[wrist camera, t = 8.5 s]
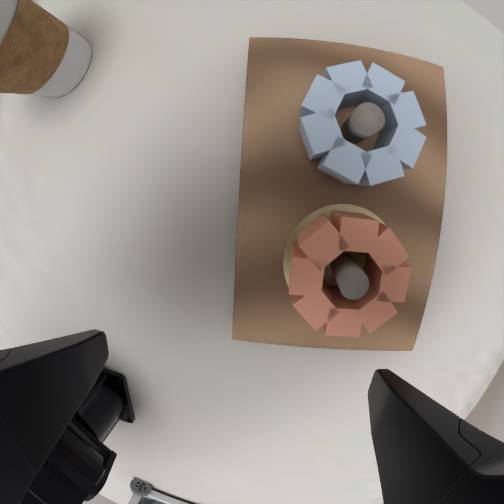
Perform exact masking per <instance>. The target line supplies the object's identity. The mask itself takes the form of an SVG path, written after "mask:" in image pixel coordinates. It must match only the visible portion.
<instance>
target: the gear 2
mask: <svg viewBox="0 0 504 504" xmlns="http://www.w3.org/2000/svg"><path fill="white" fill-rule="evenodd" d="M297 235H298V243H293V244H292V255H291V266H290V279H289V294H290V295H293V298H292V305H293V307H294V308H295V309H296V310H297V311H298V312H299V313H300V314H301V316H302V317H303V318H304V319H305V320H306V321H307V322H308V323H309V325H310V326H311V327H312V328H313V329H314V330H317V329H318V328H320V327H321V326H322V325H323V327H324V333H325V335H327V336H344V337H359V336H360V331H361V327H362V324H363V326H364V327H365V328H366V329H367V331H368V332H369V333H372V332H373V331H374V330H376V329H377V328H378V327H380V326H381V325H382V324H384V323H385V322H386V321H388V320H389V319H390V318H391V317H393V316H394V315H395V314H396V313H398V311H397V310H396V309H395V307H394V306H393V304H392V303H391V302H404V301H405V297H406V293H407V288H408V283H409V278H410V273H411V267H410V266H409V265H407V264H406V263H405V262H404V261H405V260H406V259H407V258H408V257H409V255H408V253H407V252H406V250H405V249H404V247H403V246H402V244H401V243H400V241H399V240H398V239H397V237H396V236H395V234H394V233H393V231H392V230H391V228H390V227H388V226H386V225H384V224H382V223H380V222H379V221H378V220H376V219H374V218H372V217H370V216H367V215H365V214H363V213H355V212H345V211H336V210H332V215H331V222H330V221H329V220H328V219H327V218H326V217H325V216H324V215H323V214H321V215H319V216H318V217H317V218H316V219H315V220H313V221H312V222H311V223H310V224H309V225H307V226H306V227H305V228H304V229H303V230H301V231H300V232H299V233H298V234H297ZM344 251H353V252H364V253H365V254H366V262H365V269H364V273H365V274H366V275H367V277H368V279H369V288H368V291H367V292H366V294H365V295H364V296H363V297H361V298H359V299H355V300H351V299H348V298H346V297H344V296H343V295H342V293H341V291H340V289H339V286H329V285H328V284H327V283H326V282H325V280H324V279H323V276H324V269H325V266H326V265H328V264H329V263H330V262H331V261H333V260H334V259H335V258H336V257H338V256H339V255H340V254H341V253H342V252H344Z"/></svg>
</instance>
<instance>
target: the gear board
mask: <svg viewBox="0 0 504 504" xmlns="http://www.w3.org/2000/svg"><path fill="white" fill-rule="evenodd" d="M359 60H361V62H362V64H363V66H364V68H365V70H366V71H367V70H368V68H369V67H370V65H371V64H372V62H373V63H375V64H377V65H378V66H380V67H382V68H384V69H385V70H387V71H389V72H391V73H392V74H394V75H396V76H397V77H399V78H401V79H402V80H404V81H405V83H404V86H403V88H402V91H401V93H404V92H409V91H414V94H415V96H416V99H417V101H418V104H419V106H420V109H421V112H422V114H423V117H424V120H425V123H426V126H424V127H421V128H419V129H416V130H417V131H419V132H420V133H421V134H423V135H424V136H426V139H425V142H424V144H423V147H422V149H421V151H420V154H419V156H418V158H417V161H416V163H415V165H414V167H413V169H403V172H404V175H405V176H403V177H399V178H396V179H392V180H389V181H385V182H382V183H378V184H375V185H372V186H364V185H355V184H345V183H343V182H341V181H339V180H337V179H336V178H334V177H332V176H330V175H328V174H326V173H324V172H323V171H321V170H319V169H317V167H318V165H319V163H320V161H321V159H322V157H319V158H316V159H313V160H309V157H308V154H307V151H306V148H305V146H304V143H303V140H302V137H301V135H300V132H299V125H300V120H299V119H300V110H301V104H302V102H303V101H304V99H305V97H306V95H307V93H308V91H309V89H310V87H311V85H312V83H313V81H314V79H315V77H316V76H317V74H318V75H320V76H322V77H324V73H325V70H326V67H331V66H335V65H339V64H344V63H349V62H354V61H359ZM335 117H336V120H337V122H338V125H339V128H340V130H341V133H342V136H343V139H345V140H346V141H348V142H350V143H352V144H354V145H355V146H357V147H359V148H361V149H362V150H364V151H366V152H368V151H371V150H372V149H373V147H374V145H375V143H376V141H377V139H378V136H379V133H378V131H380V130H381V129H382V128H383V126H384V124H385V116H384V113H383V111H382V110H381V108H380V107H379V106H377V105H376V104H374V103H370V102H365V103H362V104H360V105H359V106H358V107H355V106H351V107H347V108H343V109H339V110H337V111H336V113H335ZM446 164H447V111H446V93H445V81H444V71H443V67H442V66H439V65H435V64H432V63H429V62H426V61H422V60H419V59H415V58H412V57H408V56H404V55H400V54H396V53H392V52H387V51H382V50H378V49H373V48H367V47H362V46H356V45H350V44H343V43H336V42H328V41H318V40H307V39H293V38H259V37H257V38H250V39H249V52H248V65H247V79H246V93H245V107H244V122H243V137H242V153H241V170H240V187H239V206H238V224H237V244H236V265H235V288H234V312H233V338H232V339H234V340H242V341H250V342H259V343H268V344H278V345H289V346H301V347H314V348H330V349H350V350H386V351H412V350H413V347H414V344H415V341H416V338H417V335H418V331H419V328H420V324H421V321H422V317H423V313H424V310H425V306H426V302H427V298H428V294H429V289H430V285H431V280H432V276H433V271H434V266H435V260H436V255H437V249H438V243H439V237H440V230H441V222H442V214H443V205H444V195H445V182H446ZM332 210H336V211H345V212H355V213H363V214H365V215H367V216H370V217H372V218H374V219H376V220H378V221H379V222H380V223H382V224H384V225H386V226H388V227H390V228H391V230H392V231H393V233H394V234H395V236H396V237H397V239H398V240H399V241H400V243H401V244H402V246H403V247H404V249H405V250H406V252H407V253H408V255H409V257H408V258H407V259H406V260H405V261H404V262H405V263H406V264H407V265H409V266H410V267H411V273H410V278H409V283H408V288H407V293H406V297H405V301H404V302H391V303H392V304H393V306H394V307H395V309H396V310H397V311H398V313H396V314H395V315H394V316H393V317H391V318H390V319H389V320H388V321H386V322H385V323H384V324H382V325H381V326H380V327H378V328H377V329H376V330H374V331H373V332H372V333H369V332H368V331H367V329H366V328H365V327H364V326H363V324H362V327H361V331H360V336H359V337H344V336H327V335H325V333H324V327H323V325H322V326H321V327H320V328H318V329H317V330H314V329H313V328H312V327H311V326H310V325H309V323H308V322H307V321H306V320H305V319H304V318H303V317H302V316H301V314H300V313H299V312H298V311H297V310H296V309H295V308H294V307H293V305H292V298H293V295H290V294H289V279H290V266H291V255H292V244H293V243H298V235H297V234H298V233H299V232H300V231H301V230H303V229H304V228H305V227H306V226H307V225H309V224H310V223H311V222H312V221H313V220H315V219H316V218H317V217H318V216H319V215H321V214H323V215H324V216H325V217H326V218H327V219H328V220H329V221H330V222H331V215H332ZM365 262H366V254H365V253H364V252H353V251H344V252H342V253H341V254H340V255H339V256H338V257H336V258H335V259H334V260H333V261H331V262H330V263H329V264H328V265H326V266H325V269H324V276H323V279H324V280H325V282H326V283H327V284H328V285H329V286H339V289H340V291H341V293H342V295H343V296H344V297H346V298H348V299H351V300H355V299H359V298H361V297H363V296H364V295H365V294H366V292H367V291H368V288H369V279H368V277H367V275H366V274H365V273H364V269H365Z"/></svg>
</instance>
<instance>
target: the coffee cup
mask: <svg viewBox="0 0 504 504" xmlns="http://www.w3.org/2000/svg"><path fill="white" fill-rule="evenodd" d="M91 54H92V51H91V46H90V44H89V42H88V41H87V40H86V39H85V38H83V37H82V36H80V35H79V34H77V33H76V32H75V31H73V30H72V29H70V28H69V27H67V26H66V25H65V24H64V23H63V22H61V21H60V20H58V19H57V18H56V17H54V16H53V15H52V14H50V13H49V12H47V11H46V10H44V9H43V8H42V7H40V6H39V5H37V4H36V3H34V2H33V1H31V0H0V93H16V94H34V95H42V96H49V97H61V96H64V95H66V94H68V93H69V92H70V91H72V90H73V89H74V88H75V87H76V86H77V85H78V84H79V82H80V81H81V80H82V78H83V77H84V75H85V73H86V71H87V69H88V67H89V64H90V61H91Z"/></svg>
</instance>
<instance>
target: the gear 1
mask: <svg viewBox="0 0 504 504" xmlns="http://www.w3.org/2000/svg"><path fill="white" fill-rule="evenodd" d="M404 83H405V81H404V80H402V79H401V78H399V77H397V76H396V75H394V74H392V73H391V72H389V71H387V70H385V69H384V68H382V67H380V66H378V65H377V64H375V63H373V62H372V64H371V65H370V67H369V68H368V70H367V71H366V70H365V68H364V66H363V64H362V62H361V60H359V61H354V62H349V63H344V64H339V65H335V66H331V67H326V70H325V73H324V77H322V76H320V75H318V74H317V76H316V77H315V79H314V81H313V83H312V85H311V87H310V89H309V91H308V93H307V95H306V97H305V99H304V101H303V102H302V104H301V110H300V119H299V120H300V125H299V132H300V135H301V137H302V140H303V143H304V146H305V148H306V151H307V154H308V157H309V160H313V159H316V158H319V157H322V159H321V161H320V163H319V165H318V167H317V169H319V170H321V171H323V172H324V173H326V174H328V175H330V176H332V177H334V178H336V179H337V180H339V181H341V182H343V183H345V184H355V185H364V186H372V185H375V184H378V183H382V182H385V181H389V180H392V179H396V178H399V177H403V176H405V175H404V172H403V169H413V167H414V165H415V163H416V161H417V158H418V156H419V154H420V151H421V149H422V147H423V144H424V142H425V139H426V136H424V135H423V134H421V133H420V132H419V131H417V130H416V129H419V128H421V127H424V126H426V123H425V120H424V117H423V114H422V112H421V109H420V106H419V104H418V101H417V99H416V96H415V94H414V91H409V92H404V93H401V91H402V88H403V86H404ZM365 102H370V103H374V104H376V105H377V106H379V107H380V108H381V110H382V111H383V113H384V116H385V124H384V126H383V128H382V129H381V130H380V131H378V133H379V136H378V139H377V141H376V143H375V145H374V147H373V149H372V150H371V151H368V152H366V151H364V150H362V149H361V148H359V147H357V146H355V145H354V144H352V143H350V142H348V141H346V140H345V139H343V136H342V133H341V130H340V128H339V125H338V122H337V120H336V117H335V113H336V111H337V110H339V109H343V108H347V107H351V106H355V107H358V106H359V105H360V104H362V103H365Z"/></svg>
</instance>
